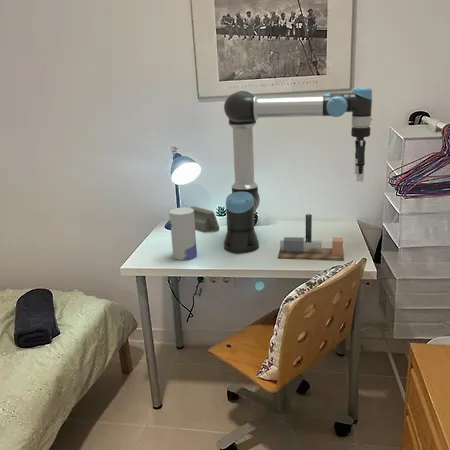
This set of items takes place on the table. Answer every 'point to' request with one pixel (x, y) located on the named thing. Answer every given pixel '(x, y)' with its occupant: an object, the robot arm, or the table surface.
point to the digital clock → (205, 219)
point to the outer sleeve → (293, 245)
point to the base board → (311, 254)
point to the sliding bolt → (308, 235)
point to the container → (183, 233)
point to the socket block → (337, 246)
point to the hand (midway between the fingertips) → (358, 177)
